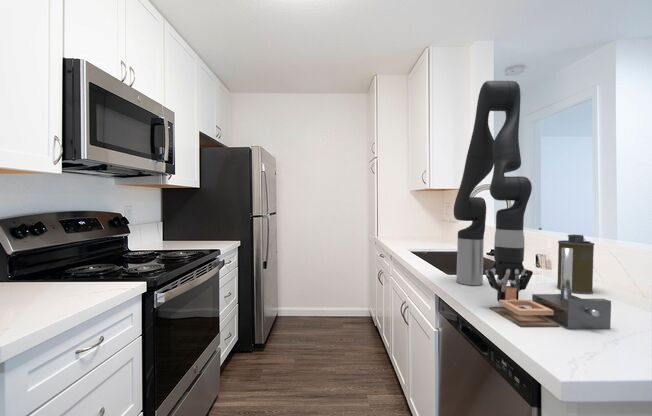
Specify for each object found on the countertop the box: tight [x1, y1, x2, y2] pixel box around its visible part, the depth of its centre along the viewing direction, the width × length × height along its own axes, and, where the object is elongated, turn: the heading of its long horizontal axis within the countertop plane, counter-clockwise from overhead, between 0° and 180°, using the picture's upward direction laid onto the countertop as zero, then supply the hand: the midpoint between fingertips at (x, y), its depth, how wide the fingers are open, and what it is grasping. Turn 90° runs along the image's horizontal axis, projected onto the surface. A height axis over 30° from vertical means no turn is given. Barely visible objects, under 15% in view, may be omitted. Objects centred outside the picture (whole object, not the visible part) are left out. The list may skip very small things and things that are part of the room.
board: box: [489, 306, 560, 328], centre depth 88 cm, size 14×10×1 cm
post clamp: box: [531, 248, 612, 330], centre depth 86 cm, size 15×11×19 cm
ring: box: [498, 285, 554, 315], centre depth 89 cm, size 14×9×4 cm, turn 3°
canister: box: [556, 234, 595, 295], centre depth 117 cm, size 11×10×20 cm
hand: (507, 303), depth 95 cm, fingers closed on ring, 3 cm apart
